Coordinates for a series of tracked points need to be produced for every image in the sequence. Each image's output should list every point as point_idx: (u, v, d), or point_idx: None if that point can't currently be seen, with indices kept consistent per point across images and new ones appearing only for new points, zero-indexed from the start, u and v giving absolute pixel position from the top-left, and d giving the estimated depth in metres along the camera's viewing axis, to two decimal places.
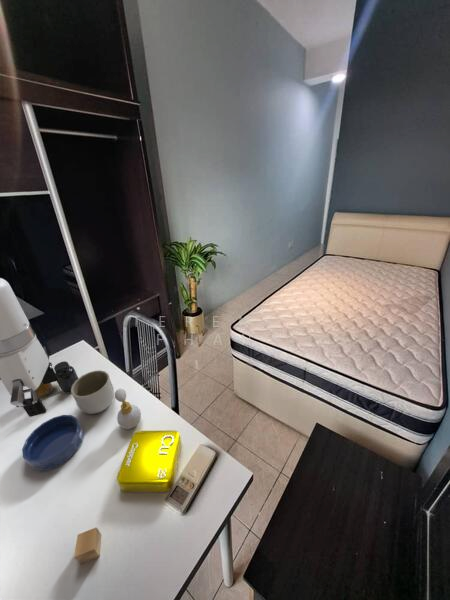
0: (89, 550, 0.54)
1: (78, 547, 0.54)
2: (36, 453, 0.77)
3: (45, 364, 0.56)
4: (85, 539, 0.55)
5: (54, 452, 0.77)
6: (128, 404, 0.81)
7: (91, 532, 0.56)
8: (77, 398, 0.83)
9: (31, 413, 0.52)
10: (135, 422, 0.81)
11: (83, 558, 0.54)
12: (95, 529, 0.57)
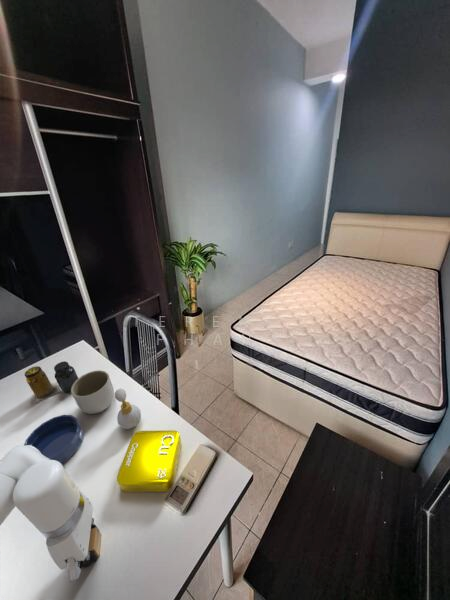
0: (89, 550, 0.54)
1: None
2: None
3: (90, 517, 0.55)
4: None
5: (54, 452, 0.77)
6: (128, 404, 0.81)
7: (91, 532, 0.56)
8: (77, 398, 0.83)
9: (84, 566, 0.53)
10: (135, 422, 0.81)
11: None
12: (95, 529, 0.57)
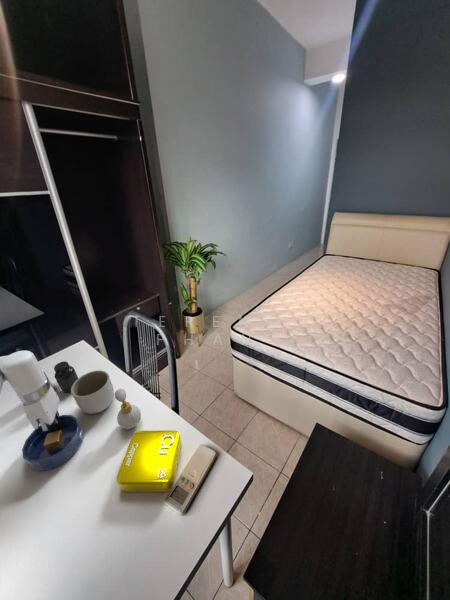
0: (54, 441, 0.76)
1: (47, 440, 0.76)
2: (36, 453, 0.77)
3: (57, 403, 0.79)
4: (52, 436, 0.77)
5: (54, 452, 0.77)
6: (128, 404, 0.81)
7: (57, 432, 0.78)
8: (77, 398, 0.83)
9: (53, 430, 0.78)
10: (135, 422, 0.81)
11: (50, 447, 0.76)
12: (60, 430, 0.79)
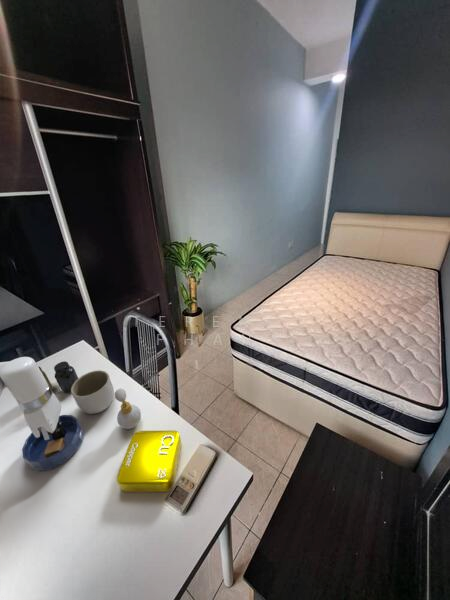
0: (55, 450, 0.73)
1: (47, 448, 0.74)
2: (36, 453, 0.77)
3: (59, 410, 0.76)
4: (53, 444, 0.75)
5: None
6: (128, 404, 0.81)
7: (58, 440, 0.76)
8: (77, 398, 0.83)
9: (55, 438, 0.76)
10: (135, 422, 0.81)
11: None
12: (61, 439, 0.76)
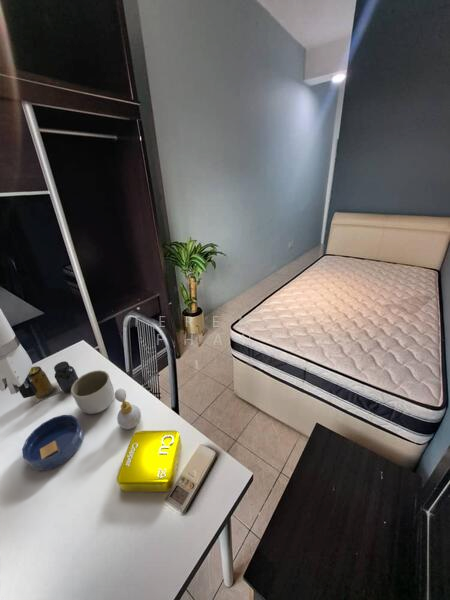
0: (53, 451, 0.73)
1: (43, 454, 0.72)
2: (36, 453, 0.77)
3: (29, 366, 0.72)
4: (47, 448, 0.74)
5: None
6: (128, 404, 0.81)
7: (51, 444, 0.75)
8: (77, 398, 0.83)
9: (25, 395, 0.72)
10: (135, 422, 0.81)
11: None
12: (54, 441, 0.76)
